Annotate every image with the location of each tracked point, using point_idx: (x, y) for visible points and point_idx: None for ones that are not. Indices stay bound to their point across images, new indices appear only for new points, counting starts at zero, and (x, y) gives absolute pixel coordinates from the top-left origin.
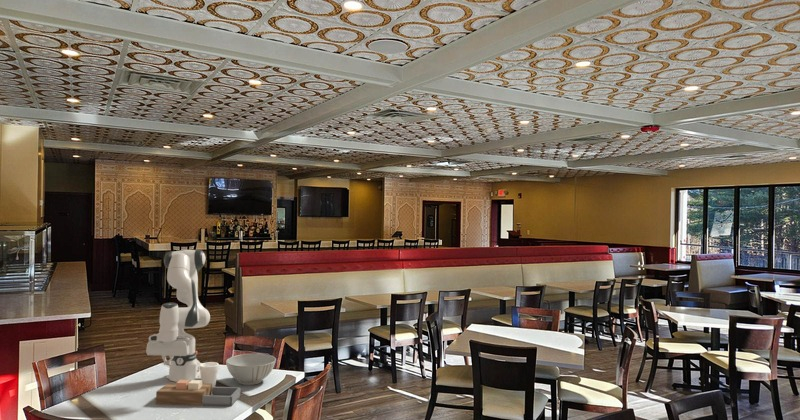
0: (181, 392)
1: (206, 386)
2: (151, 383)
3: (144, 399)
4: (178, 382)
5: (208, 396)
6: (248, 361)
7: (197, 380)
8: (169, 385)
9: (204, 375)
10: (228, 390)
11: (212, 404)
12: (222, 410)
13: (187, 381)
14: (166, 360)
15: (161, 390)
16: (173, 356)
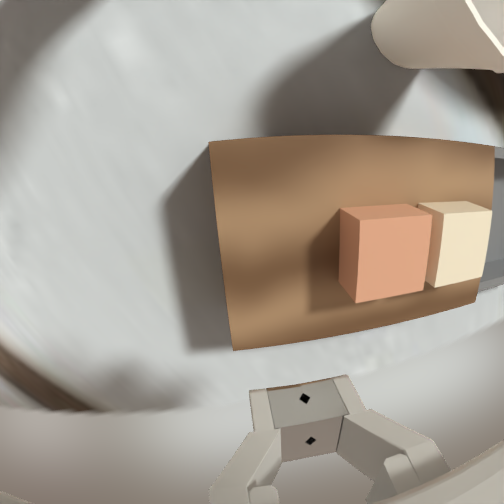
0: (388, 324)
1: (483, 199)
2: (27, 11)
3: (123, 255)
4: (370, 290)
5: (484, 288)
6: None
7: (472, 218)
8: (255, 216)
9: (461, 62)
10: None
11: None
12: (494, 302)
13: (423, 254)
14: (281, 437)
15: (254, 328)
16: (432, 456)
